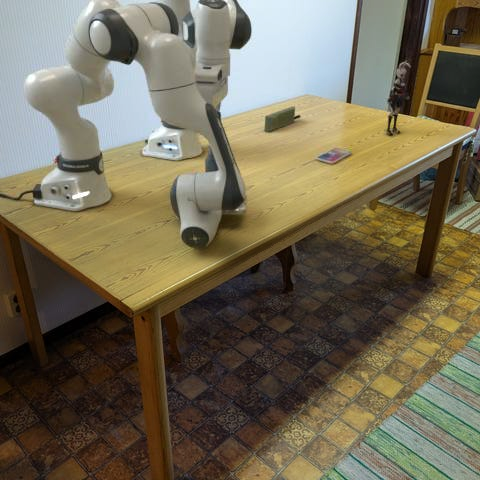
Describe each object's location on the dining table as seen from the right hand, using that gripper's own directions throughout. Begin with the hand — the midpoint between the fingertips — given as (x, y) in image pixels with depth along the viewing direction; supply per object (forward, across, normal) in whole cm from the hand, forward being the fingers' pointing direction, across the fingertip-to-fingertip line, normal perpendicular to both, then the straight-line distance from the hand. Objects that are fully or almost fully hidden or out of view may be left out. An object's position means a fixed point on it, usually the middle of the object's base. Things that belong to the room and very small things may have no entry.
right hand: (213, 120), depth 138 cm
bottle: (+26, 0, 0) cm, 26 cm away
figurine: (+26, -86, +55) cm, 106 cm away
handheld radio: (+27, -86, +9) cm, 91 cm away
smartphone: (+26, -51, +33) cm, 66 cm away
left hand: (+21, -1, 0) cm, 21 cm away
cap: (-2, 0, 0) cm, 2 cm away
